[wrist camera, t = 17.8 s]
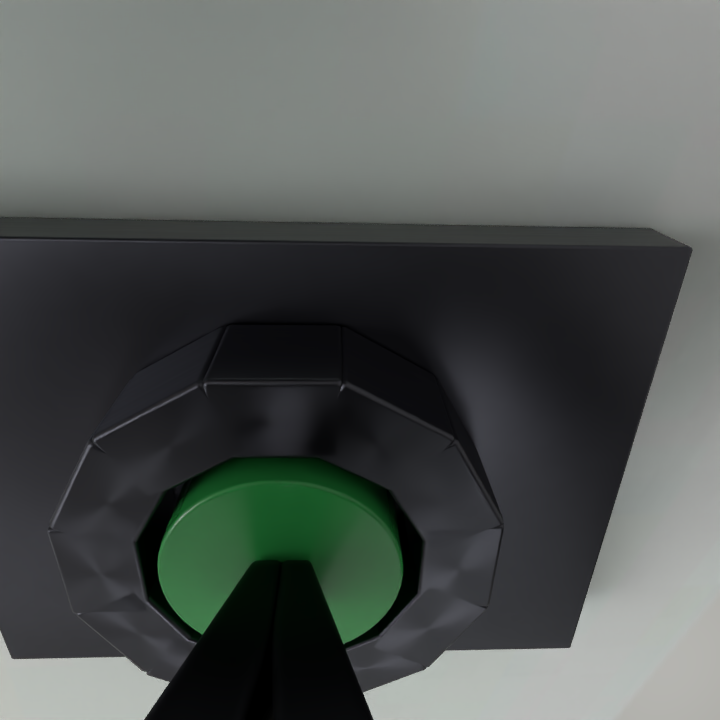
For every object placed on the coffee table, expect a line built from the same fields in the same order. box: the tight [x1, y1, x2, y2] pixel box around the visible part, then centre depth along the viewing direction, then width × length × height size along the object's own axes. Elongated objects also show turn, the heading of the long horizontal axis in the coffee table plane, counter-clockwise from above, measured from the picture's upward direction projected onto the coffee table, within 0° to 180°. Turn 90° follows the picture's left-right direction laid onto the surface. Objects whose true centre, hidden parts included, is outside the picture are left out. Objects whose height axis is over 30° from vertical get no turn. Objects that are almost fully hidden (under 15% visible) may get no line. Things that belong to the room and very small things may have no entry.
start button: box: [157, 458, 403, 644], centre depth 9 cm, size 4×4×2 cm
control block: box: [0, 217, 692, 692], centre depth 9 cm, size 12×9×3 cm
